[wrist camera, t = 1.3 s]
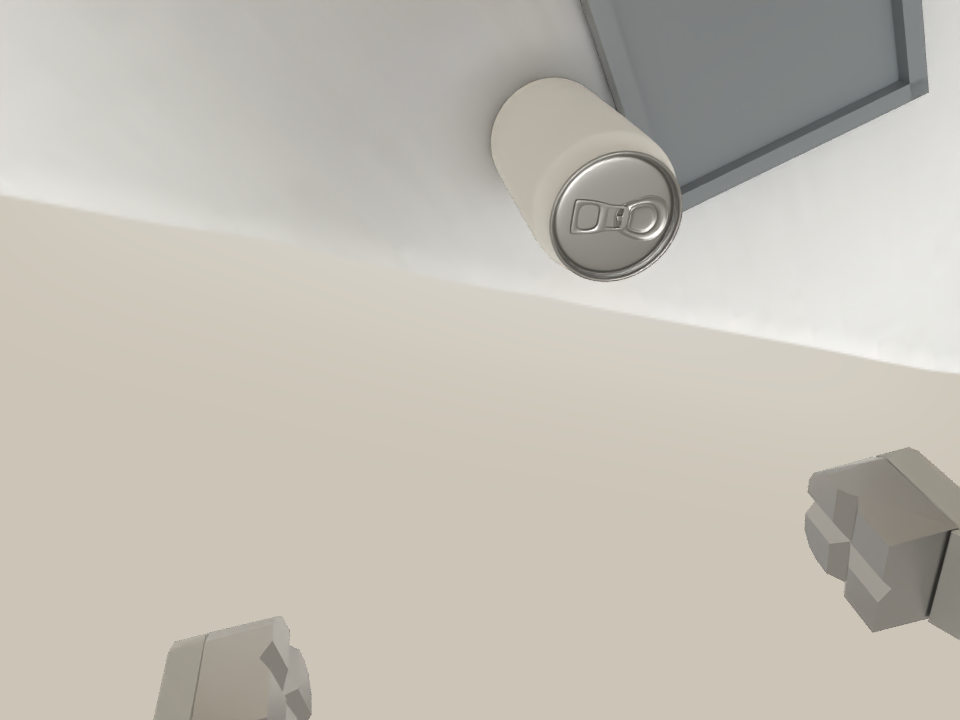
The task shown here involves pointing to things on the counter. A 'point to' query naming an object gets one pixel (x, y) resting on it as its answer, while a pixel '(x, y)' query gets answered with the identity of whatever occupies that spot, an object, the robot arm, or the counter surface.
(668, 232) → the can
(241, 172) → the counter surface
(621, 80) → the tray
